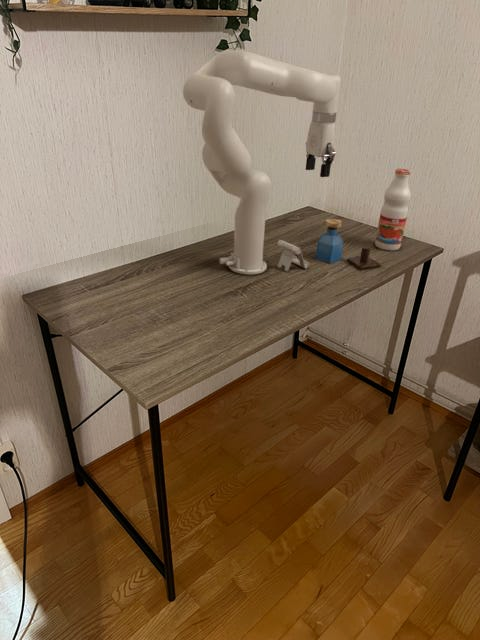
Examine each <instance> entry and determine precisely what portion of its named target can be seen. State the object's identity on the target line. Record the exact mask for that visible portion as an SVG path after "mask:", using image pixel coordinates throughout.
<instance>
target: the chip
mask: <svg viewBox="0 0 480 640" xmlns="http://www.w3.org/2000/svg"><path fill="white" fill-rule="evenodd" d="M342 223H343V222H342V220H341V219H337V218H327V219H326V220H325V226H326V227H327V228H328V227H332V228H337V229H338V228H341V227H342Z"/></svg>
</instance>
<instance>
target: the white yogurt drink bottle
mask: <svg viewBox="0 0 480 640" xmlns="http://www.w3.org/2000/svg"><path fill="white" fill-rule="evenodd" d="M394 175H395V176H394V177H393V179H392V181H391V182H390V184H389V186H388V187H387V188H386V190H384V191H385V192H384V196H383V199H384V201H383V204H382V206H381V208H380V213H379V219H378V224H377V230H376V234H375V240H374V245H375V247H377V248H378V249H380V250H384V251H397V250H400V248H401V247H402V243H403V242H402V241H403V236H404V234H405V233H404V232H405V228H406V224H407V220H408V215H409V203H410V201H411V199H412V192H411V190H410V182H409V177H410V175H411V171H410V170H409V169H406V168H396V169H395V171H394Z"/></svg>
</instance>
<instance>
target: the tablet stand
mask: <svg viewBox="0 0 480 640" xmlns="http://www.w3.org/2000/svg"><path fill="white" fill-rule="evenodd" d="M277 246H278V247H280V248H282V249H283V251H282V253H281V256H280V258H279V261H278V263H277V268H279V269H281V268H282V266H284V271H285V272H288V271H289V270H290V267H291V264H294V265H296V266H299V267H301V268H303V269H305V270H307V269H308V268H309V266H310V262H309V261H308V260H305V259H304V257H303V256H304V255H303V252H302V248H301V247H299V246H296V245H294V244H291V243H289V242H287V241H285V240H282V239H279V240H278V241H277ZM296 255H297V256H296Z"/></svg>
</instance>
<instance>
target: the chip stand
mask: <svg viewBox="0 0 480 640" xmlns="http://www.w3.org/2000/svg"><path fill="white" fill-rule="evenodd" d="M370 252H371V247H370V246H367V245H363V246H362V247H361V252H360V256H353V257H347V258H346V262H348V263H349V264H351V265H352V266H354V267H355V268H357V269H358V270H360V271H363V270H369V269H375V268H380V267H381V264H380V263H379V262H377V261H376V260H374V259H373V258H371V257H370Z"/></svg>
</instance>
